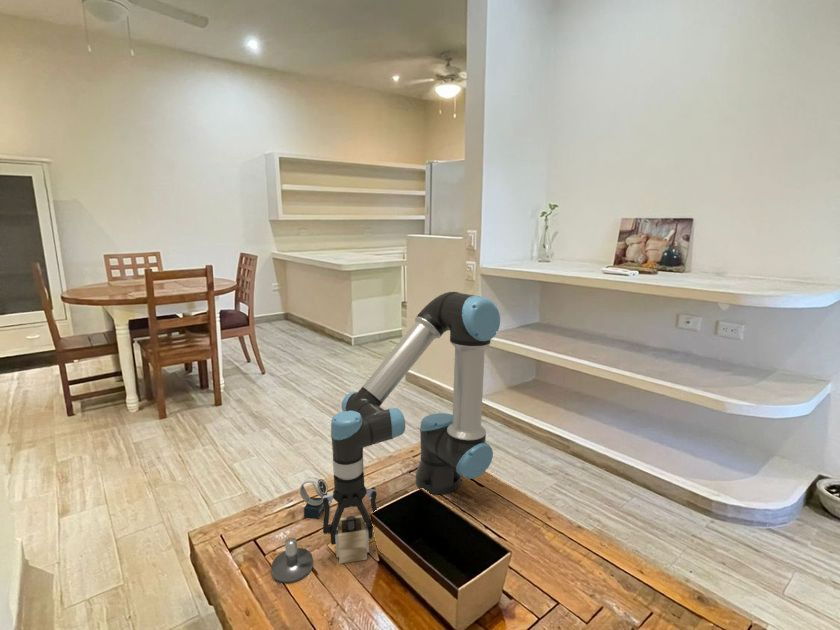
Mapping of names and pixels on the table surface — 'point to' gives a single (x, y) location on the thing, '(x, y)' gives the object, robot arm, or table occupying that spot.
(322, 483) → the watch
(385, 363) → the robot arm
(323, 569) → the table surface
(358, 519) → the wooden square sleeve
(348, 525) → the stand
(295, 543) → the stand
